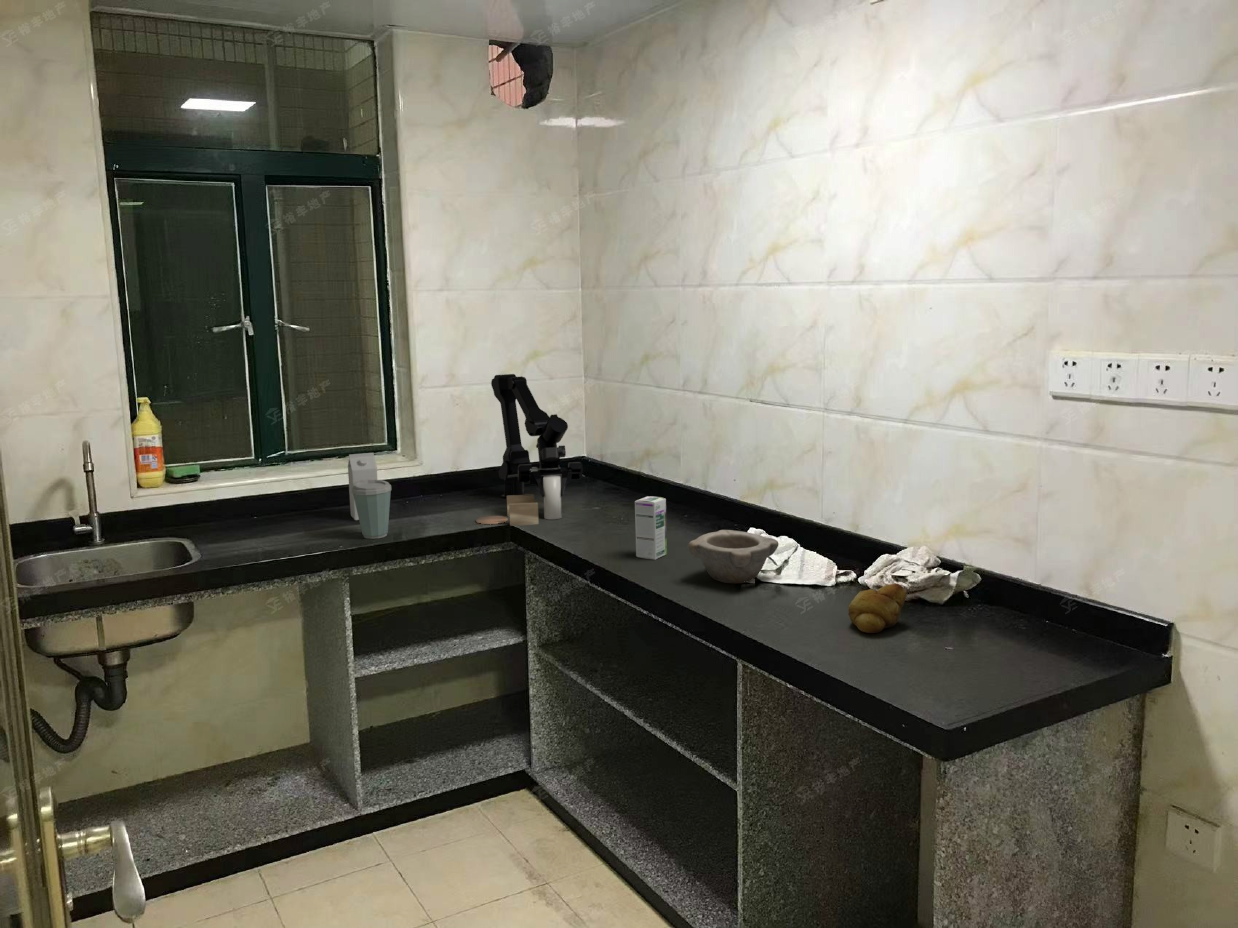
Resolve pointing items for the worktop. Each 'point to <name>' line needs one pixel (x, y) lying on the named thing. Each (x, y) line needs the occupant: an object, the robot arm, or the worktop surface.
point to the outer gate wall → (523, 513)
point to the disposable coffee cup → (372, 506)
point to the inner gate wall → (519, 500)
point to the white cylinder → (552, 497)
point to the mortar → (733, 554)
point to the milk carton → (360, 474)
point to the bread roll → (877, 608)
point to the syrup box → (650, 527)
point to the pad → (491, 520)
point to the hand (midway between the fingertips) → (552, 496)
